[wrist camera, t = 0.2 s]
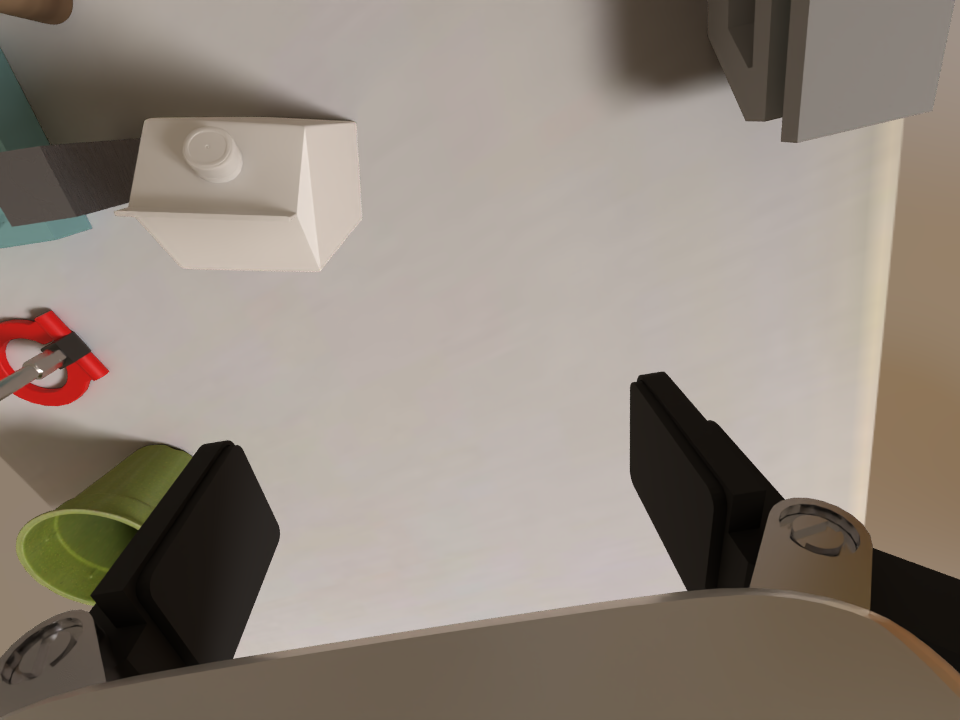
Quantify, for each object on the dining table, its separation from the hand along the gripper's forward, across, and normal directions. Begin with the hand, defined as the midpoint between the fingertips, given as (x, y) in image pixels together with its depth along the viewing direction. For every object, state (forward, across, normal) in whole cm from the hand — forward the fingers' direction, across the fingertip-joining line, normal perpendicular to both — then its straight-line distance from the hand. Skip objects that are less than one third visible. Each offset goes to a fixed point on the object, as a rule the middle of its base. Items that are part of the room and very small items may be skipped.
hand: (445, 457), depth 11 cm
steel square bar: (+31, +21, -7) cm, 38 cm away
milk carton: (+31, +9, -5) cm, 33 cm away
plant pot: (+31, +33, +21) cm, 50 cm away
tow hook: (+31, +38, +7) cm, 49 cm away
